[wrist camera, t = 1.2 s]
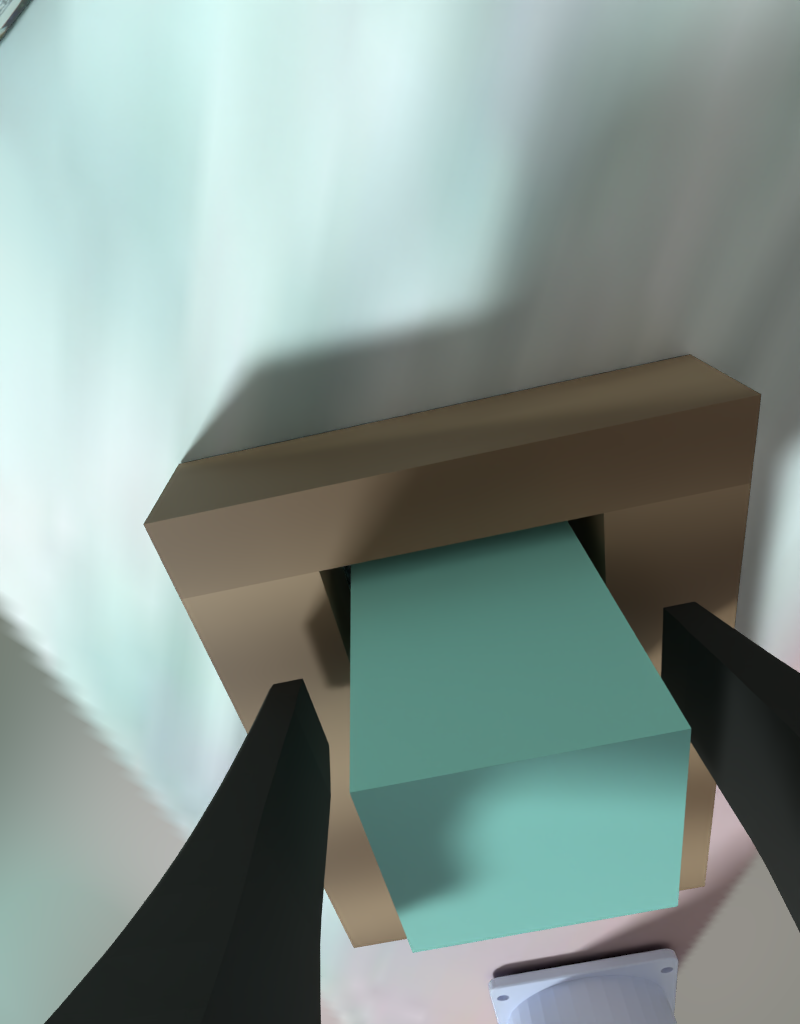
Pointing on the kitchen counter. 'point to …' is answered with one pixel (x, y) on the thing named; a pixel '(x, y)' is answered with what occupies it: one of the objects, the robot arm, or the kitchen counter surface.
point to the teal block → (510, 741)
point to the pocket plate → (453, 519)
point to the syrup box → (10, 13)
